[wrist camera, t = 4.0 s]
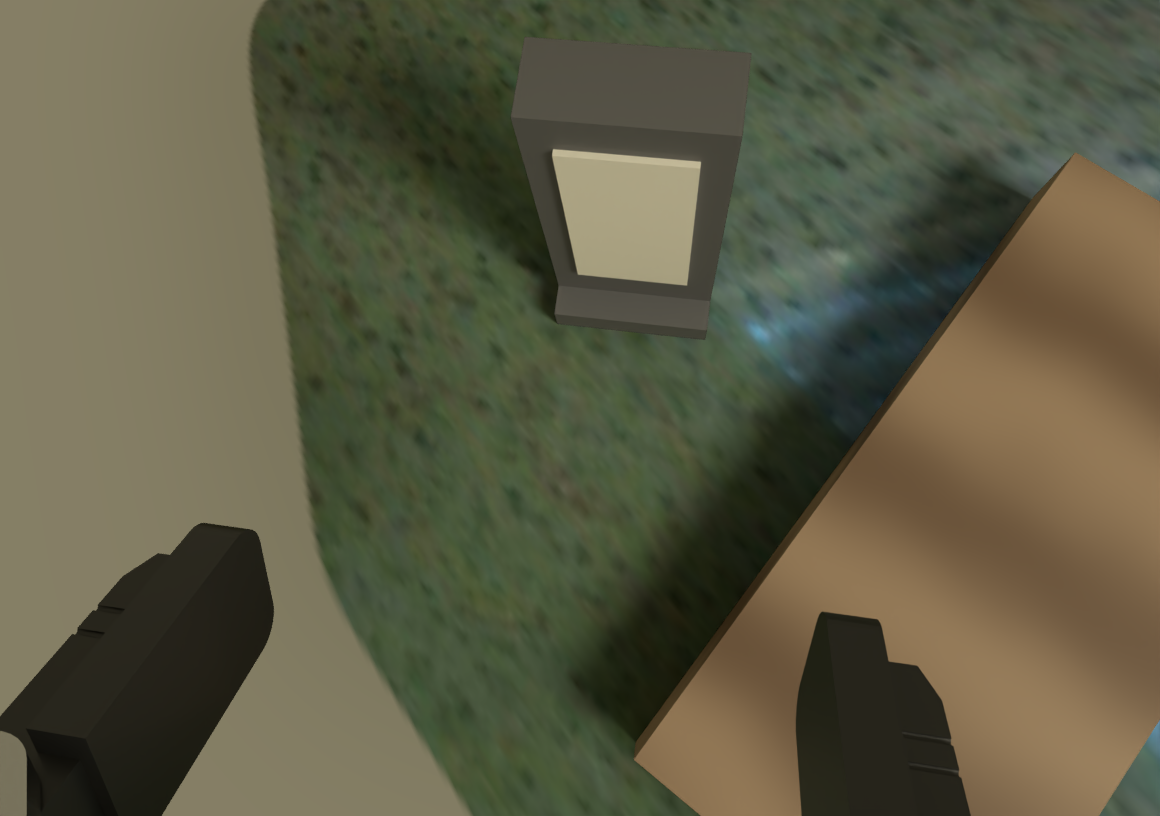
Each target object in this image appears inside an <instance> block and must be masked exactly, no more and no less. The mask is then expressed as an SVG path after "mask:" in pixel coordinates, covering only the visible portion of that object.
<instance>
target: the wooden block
mask: <svg viewBox="0 0 1160 816" xmlns="http://www.w3.org/2000/svg"><path fill="white" fill-rule="evenodd" d="M821 612H830V613H837V614H844V615H851V616H858V617H865V618H872V619H878V620H879V622H880V623H881V626H882V630H883V635H884V640H885V645H886V650H887V655H888V661H889V662H896V663H903V664H910V665H917V666H918V667H919V668H920V670H921V671H922V673H923V674H924V675H925V677H926V678H927V680H928V681H929V683H930V684H931V685H932V687H933V688H934V690H935V691H936V692H937V694H938V695H939V697H940V698H941V700H942V702H943V706H944V710H945V714H946V718H947V722H948V726H949V730H950V734H951V745H952V746H954V750H955V754H956V758H957V762H958V766H959V777H961V778H962V782H963V786H964V790H965V794H966V798H967V802H968V806H969V810H970V814H971V816H1099V814H1100V813H1101V811H1102V810H1103V808H1104V807H1105V805H1106V803H1107V802H1108V800H1109V799H1110V797H1111V796H1112V794H1113V792H1114V791H1115V789H1116V788H1117V786H1118V785H1119V783H1120V781H1121V780H1122V778H1123V777H1124V775H1125V773H1126V772H1127V770H1128V769H1129V767H1130V766H1131V764H1132V762H1133V761H1134V759H1135V758H1136V756H1137V755H1138V753H1139V751H1140V750H1141V748H1142V747H1143V745H1144V744H1145V742H1146V740H1147V739H1148V737H1149V736H1150V734H1151V733H1152V731H1153V729H1154V728H1155V726H1156V725H1157V723H1158V722H1159V720H1160V201H1158V200H1156V199H1155V198H1153V197H1151V196H1149V195H1148V194H1146V193H1144V192H1142V191H1141V190H1139V189H1137V188H1136V187H1134V186H1132V185H1130V184H1129V183H1127V182H1125V181H1124V180H1122V179H1120V178H1118V177H1117V176H1115V175H1113V174H1112V173H1110V172H1108V171H1106V170H1105V169H1103V168H1101V167H1099V166H1098V165H1096V164H1094V163H1093V162H1091V161H1089V160H1087V159H1086V158H1084V157H1082V156H1081V155H1079V154H1077V153H1074V154H1073V156H1072V157H1071V158H1070V159H1069V160H1068V161H1067V162H1066V163H1065V164H1064V165H1063V166H1062V167H1061V168H1060V169H1059V170H1058V172H1057V173H1056V174H1055V175H1054V176H1053V177H1052V178H1051V179H1050V180H1049V181H1048V182H1047V183H1046V184H1045V185H1044V186H1043V188H1042V189H1041V190H1040V191H1039V192H1038V193H1037V194H1036V195H1035V196H1034V197H1033V198H1032V199H1031V201H1030V202H1029V204H1028V205H1027V206H1026V208H1025V209H1024V210H1023V212H1022V213H1021V215H1020V216H1019V217H1018V219H1017V220H1016V221H1015V223H1014V224H1013V226H1012V227H1011V228H1010V230H1009V231H1008V232H1007V234H1006V235H1005V236H1004V238H1003V239H1002V241H1001V242H1000V243H999V245H998V246H997V247H996V249H995V250H994V252H993V253H992V254H991V256H990V257H989V258H988V260H987V261H986V263H985V264H984V265H983V267H982V268H981V269H980V271H979V272H978V273H977V275H976V276H975V278H974V279H973V280H972V282H971V283H970V284H969V286H968V287H967V289H966V290H965V291H964V293H963V294H962V295H961V297H960V298H959V300H958V301H957V302H956V304H955V305H954V306H953V308H952V309H951V311H950V312H949V313H948V315H947V316H946V317H945V319H944V320H943V321H942V323H941V324H940V326H939V327H938V328H937V330H936V331H935V332H934V334H933V335H932V337H931V338H930V339H929V341H928V342H927V343H926V345H925V346H924V348H923V349H922V350H921V352H920V353H919V354H918V356H917V357H916V359H915V360H914V361H913V363H912V364H911V365H910V367H909V368H908V369H907V371H906V372H905V374H904V375H903V376H902V378H901V379H900V380H899V382H898V383H897V385H896V386H895V387H894V389H893V390H892V391H891V393H890V394H889V396H888V397H887V398H886V400H885V401H884V402H883V404H882V405H881V407H880V408H879V409H878V411H877V412H876V413H875V415H874V416H873V417H872V419H871V420H870V422H869V423H868V424H867V426H866V427H865V428H864V430H863V431H862V433H861V434H860V435H859V437H858V438H857V439H856V441H855V442H854V444H853V445H852V446H851V448H850V449H849V450H848V452H847V453H846V455H845V456H844V457H843V459H842V460H841V461H840V463H839V464H838V465H837V467H836V468H835V470H834V471H833V472H832V474H831V475H830V476H829V478H828V479H827V481H826V482H825V483H824V485H823V486H822V487H821V489H820V490H819V492H818V493H817V494H816V496H815V497H814V498H813V500H812V501H811V503H810V504H809V505H808V507H807V508H806V509H805V511H804V512H803V513H802V515H801V516H800V518H799V519H798V520H797V522H796V523H795V524H794V526H793V527H792V529H791V530H790V531H789V533H788V534H787V535H786V537H785V538H784V540H783V541H782V542H781V544H780V545H779V546H778V548H777V549H776V551H775V552H774V553H773V555H772V556H771V557H770V559H769V560H768V561H767V563H766V564H765V566H764V567H763V568H762V570H761V571H760V572H759V574H758V575H757V577H756V578H755V579H754V581H753V582H752V583H751V585H750V586H749V588H748V589H747V590H746V592H745V593H744V594H743V596H742V597H741V599H740V600H739V601H738V603H737V604H736V605H735V607H734V608H733V609H732V611H731V612H730V614H729V615H728V616H727V618H726V619H725V620H724V622H723V623H722V625H721V626H720V627H719V629H718V630H717V631H716V633H715V634H714V636H713V637H712V638H711V640H710V641H709V642H708V644H707V645H706V646H705V648H704V649H703V651H702V652H701V653H700V655H699V656H698V657H697V659H696V660H695V662H694V663H693V664H692V666H691V667H690V668H689V670H688V671H687V673H686V674H685V675H684V677H683V678H682V679H681V681H680V682H679V684H678V685H677V686H676V688H675V689H674V690H673V692H672V693H671V694H670V696H669V697H668V699H667V700H666V701H665V703H664V704H663V705H662V707H661V708H660V710H659V711H658V712H657V714H656V715H655V716H654V718H653V719H652V721H651V722H650V723H649V725H648V726H647V727H646V729H645V730H644V732H643V733H642V734H641V736H640V737H639V738H638V740H637V741H636V744H635V754H634V760H635V761H636V762H637V763H639V764H640V765H641V766H642V767H643V768H644V769H646V770H647V771H648V772H649V773H650V774H652V775H653V776H654V777H655V778H656V779H658V780H659V781H660V782H661V783H662V784H664V785H665V786H666V787H667V788H668V789H670V790H671V791H672V792H673V793H674V794H676V795H677V796H678V797H679V798H680V799H682V800H683V801H684V802H685V803H686V804H687V805H689V806H690V807H691V808H692V809H693V810H695V811H696V812H697V813H698V814H699V815H701V816H802V815H801V800H800V786H799V771H798V757H797V742H796V707H797V698H798V691H799V686H800V682H801V678H802V674H803V671H804V667H805V663H806V659H807V656H808V652H809V648H810V645H811V641H812V637H813V633H814V630H815V626H816V622H817V619H818V616H819V614H820V613H821Z"/></svg>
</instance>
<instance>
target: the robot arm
mask: <svg viewBox="0 0 1160 816" xmlns="http://www.w3.org/2000/svg"><path fill="white" fill-rule="evenodd" d="M273 616H274V606H273V600H272V595H271V591H270V586H269V582H268V577H267V572H266V567H265V563H264V558H263V553H262V548H261V543H260V540H259V537H258V535H257V533H256V532H255V531H253V530H250V529H243V528H236V527H229V526H221V525H215V524H208V523H200V524H198V525H197V526H195V527H194V528H193V529H192V530H191V531H190V532H189V533H188V534H187V536H186V537H185V538H184V539H183V540H182V541H181V543H180V544H179V545H178V546H177V547H176V549H175V550H174V551H173V552H172V553H171V555H166V554H159V553H158V554H156V555H155V556H153V557H152V558H150V559H149V560H147V561H146V562H144V563H143V564H141V565H139V566H138V567H136V568H135V569H133V570H132V571H130V572H129V573H127V574H126V575H124V576H123V577H122V578H121V579H120V580H119V581H118V582H117V584H116V585H115V586H114V587H113V588H112V589H111V591H110V592H109V593H108V594H107V595H106V596H105V597H104V599H103V600H102V601H101V602H100V603H99V604H98V609H97V610H96V611H92V612H91V613H90V614H89V616H88V617H87V618H86V619H85V620H84V621H83V622H82V624H81V625H80V626H79V627H78V631H77V633H76V634H75V635H74V634H72V635H71V636H70V637H69V638H68V639H67V641H66V642H65V643H64V644H63V645H62V647H61V648H60V649H59V650H58V651H57V652H56V653H55V654H54V655H53V657H52V658H51V659H50V660H49V661H48V662H47V664H46V665H45V666H44V667H43V668H42V669H41V670H40V672H39V673H38V674H37V675H36V676H35V677H34V678H33V679H32V681H31V682H30V683H29V684H28V685H27V686H26V687H25V689H24V690H23V691H22V692H21V693H20V694H19V695H18V697H17V698H16V699H15V700H14V701H13V702H12V703H11V705H10V706H9V707H8V708H7V709H6V710H5V712H4V713H3V714H2V715H1V716H0V816H162V814H163V812H164V811H165V809H166V807H167V805H168V804H169V803H170V801H171V799H172V797H173V796H174V794H175V793H176V791H177V789H178V788H179V786H180V784H181V783H182V781H183V780H184V778H185V776H186V774H187V773H188V771H189V770H190V768H191V766H192V765H193V763H194V762H195V760H196V758H197V757H198V755H199V753H200V752H201V750H202V749H203V747H204V745H205V744H206V742H207V740H208V739H209V737H210V735H211V734H212V732H213V731H214V729H215V727H216V726H217V724H218V722H219V721H220V719H221V718H222V716H223V714H224V713H225V711H226V709H227V708H228V706H229V705H230V703H231V701H232V700H233V698H234V696H235V695H236V693H237V691H238V690H239V688H240V686H241V685H242V683H243V681H244V680H245V678H246V677H247V675H248V673H249V672H250V670H251V668H252V667H253V665H254V664H255V662H256V660H257V659H258V657H259V655H260V654H261V652H262V651H263V649H264V647H265V645H266V643H267V640H268V638H269V635H270V632H271V628H272V623H273ZM796 742H797V757H798V771H799V786H800V800H801V815H802V816H971V814H970V810H969V806H968V802H967V798H966V794H965V790H964V786H963V782H962V778H961V777H959V766H958V762H957V758H956V754H955V750H954V746H952V745H951V734H950V730H949V726H948V722H947V718H946V714H945V710H944V706H943V702H942V700H941V698H940V697H939V695H938V694H937V692H936V691H935V690H934V688H933V687H932V685H931V684H930V683H929V681H928V680H927V678H926V677H925V675H924V674H923V673H922V671H921V670H920V668H919V667H918V666H917V665H910V664H903V663H896V662H889V661H888V655H887V650H886V645H885V640H884V635H883V630H882V626H881V623H880V622H879V620H878V619H872V618H865V617H858V616H851V615H844V614H837V613H830V612H821V613H820V614H819V616H818V619H817V622H816V626H815V630H814V633H813V637H812V641H811V645H810V648H809V652H808V656H807V659H806V663H805V667H804V671H803V674H802V678H801V682H800V686H799V691H798V698H797V707H796Z"/></svg>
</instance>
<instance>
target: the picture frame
mask: <svg viewBox="0 0 1160 816" xmlns="http://www.w3.org/2000/svg"><path fill="white" fill-rule="evenodd" d="M750 62H751V53H743V52H729V51H715V50H701V49H687V48H673V47H659V46H645V45H631V44H617V43H603V42H589V41H575V40H561V39H547V38H533V37H525V38H524V44H523V50H522V55H521V61H520V67H519V72H518V78H517V84H516V90H515V95H514V101H513V107H512V113H511V120H512V124H513V127H514V131H515V134H516V138H517V141H518V145H519V148H520V152H521V155H522V159H523V162H524V166H525V169H526V173H527V176H528V180H529V183H530V187H531V190H532V194H533V197H534V201H535V204H536V208H537V211H538V215H539V218H540V222H541V225H542V229H543V232H544V236H545V239H546V243H547V246H548V250H549V253H550V257H551V260H552V264H553V267H554V271H555V274H556V278H557V281H558V285H559V287H558V294H557V300H556V307H555V313H554V314H555V317H556V320H557V324H564V325H573V326H582V327H591V328H601V329H610V330H619V331H628V332H638V333H647V334H656V335H665V336H674V337H684V338H693V339H702V340H705V337H706V332H707V325H708V316H709V307H710V299H711V294H712V289H713V284H714V279H715V274H716V269H717V264H718V259H719V253H720V248H721V243H722V238H723V233H724V228H725V223H726V218H727V213H728V207H729V202H730V197H731V192H732V187H733V182H734V177H735V172H736V167H737V161H738V156H739V151H740V146H741V141H742V136H743V126H744V117H745V108H746V99H747V90H748V80H749V71H750Z"/></svg>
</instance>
